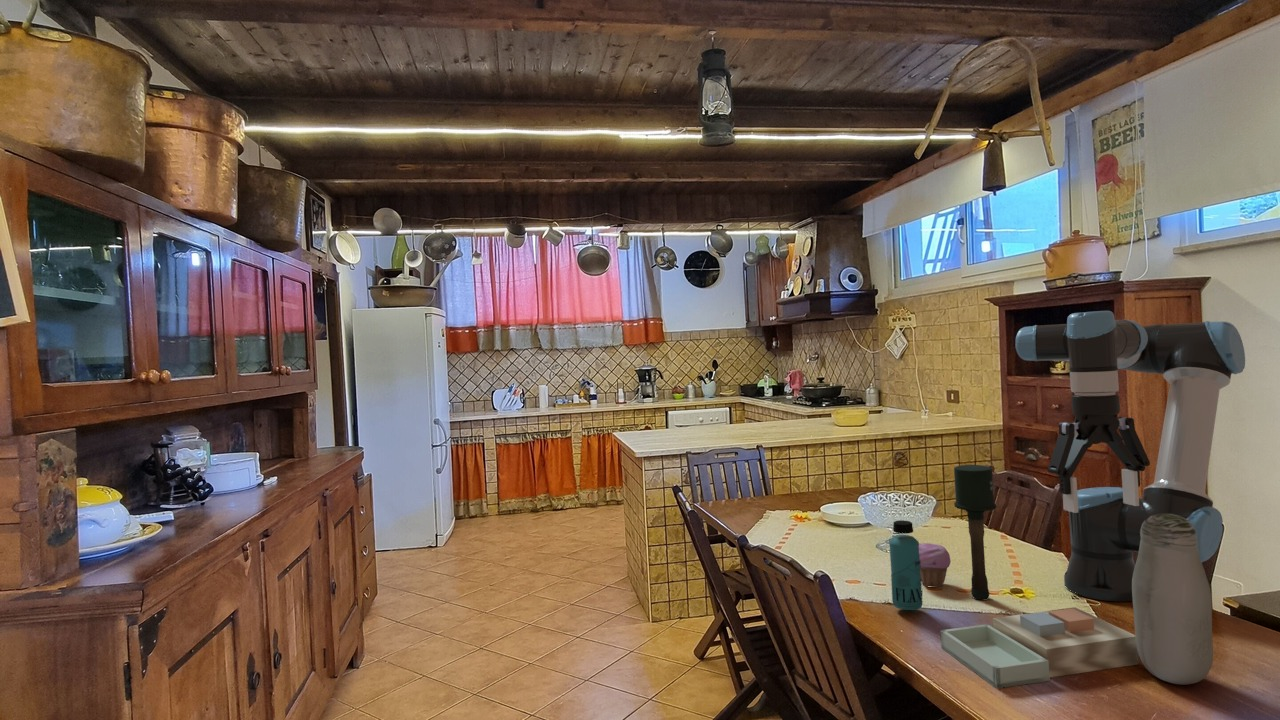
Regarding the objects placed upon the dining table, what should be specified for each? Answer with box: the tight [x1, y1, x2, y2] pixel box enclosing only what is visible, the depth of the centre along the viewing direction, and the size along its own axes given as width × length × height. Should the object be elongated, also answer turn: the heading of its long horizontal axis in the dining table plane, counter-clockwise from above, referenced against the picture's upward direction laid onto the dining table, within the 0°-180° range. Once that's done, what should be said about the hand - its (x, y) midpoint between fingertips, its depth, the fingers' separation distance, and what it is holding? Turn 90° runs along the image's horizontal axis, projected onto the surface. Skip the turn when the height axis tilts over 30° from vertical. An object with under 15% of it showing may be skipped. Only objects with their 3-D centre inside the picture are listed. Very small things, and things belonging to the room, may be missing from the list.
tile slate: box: [1019, 611, 1065, 637], centre depth 123 cm, size 5×5×2 cm
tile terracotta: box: [1048, 607, 1094, 633], centre depth 124 cm, size 5×5×2 cm
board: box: [992, 606, 1140, 678], centre depth 124 cm, size 18×14×5 cm
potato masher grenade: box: [953, 464, 997, 600], centre depth 152 cm, size 8×9×30 cm
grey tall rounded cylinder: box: [1132, 514, 1214, 686], centre depth 112 cm, size 10×10×28 cm
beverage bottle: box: [888, 520, 924, 611], centre depth 147 cm, size 6×7×20 cm
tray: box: [940, 623, 1051, 689], centre depth 122 cm, size 10×16×4 cm, turn 8°
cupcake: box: [919, 542, 952, 587], centre depth 162 cm, size 9×9×10 cm
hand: (1101, 507), depth 125 cm, fingers open, 12 cm apart
